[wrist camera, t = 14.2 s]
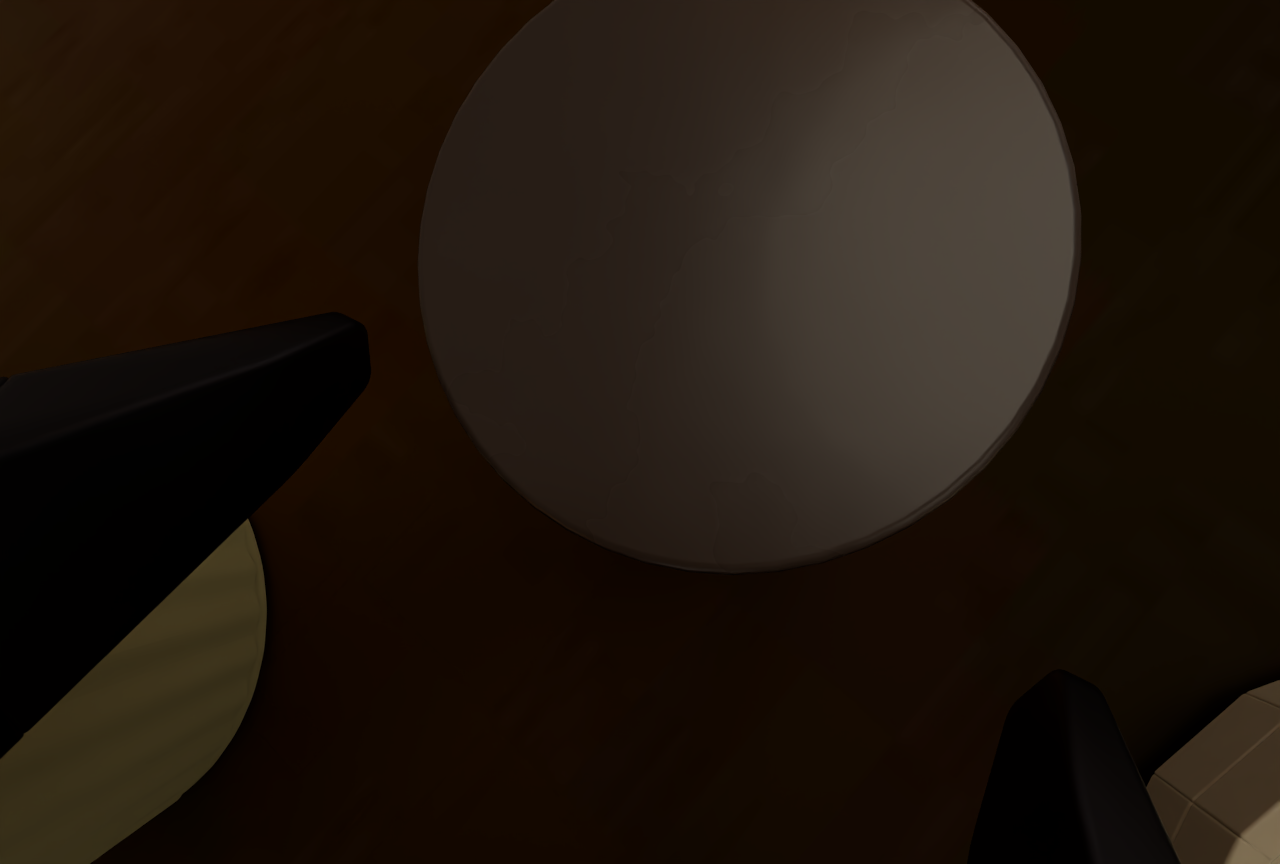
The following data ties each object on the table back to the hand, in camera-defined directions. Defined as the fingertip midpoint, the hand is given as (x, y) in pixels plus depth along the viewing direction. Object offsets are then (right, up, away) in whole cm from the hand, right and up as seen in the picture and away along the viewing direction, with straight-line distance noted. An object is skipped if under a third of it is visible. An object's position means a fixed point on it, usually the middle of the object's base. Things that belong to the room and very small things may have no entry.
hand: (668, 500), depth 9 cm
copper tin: (+3, +1, +9) cm, 9 cm away
